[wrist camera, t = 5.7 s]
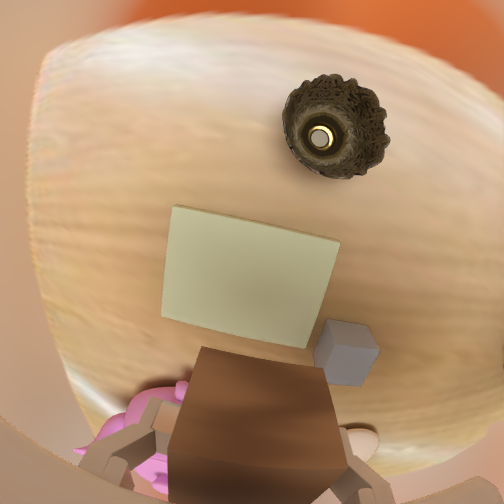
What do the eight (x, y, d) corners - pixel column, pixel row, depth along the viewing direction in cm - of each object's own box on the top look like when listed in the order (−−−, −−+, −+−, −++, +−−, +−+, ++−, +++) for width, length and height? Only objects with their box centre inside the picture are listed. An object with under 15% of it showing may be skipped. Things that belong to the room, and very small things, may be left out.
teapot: (99, 338, 32) (42, 402, 19) (258, 376, 31) (248, 471, 18) (122, 430, 38) (94, 484, 25) (238, 459, 37) (229, 524, 24)
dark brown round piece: (276, 101, 23) (278, 72, 15) (353, 102, 22) (383, 77, 14) (282, 178, 25) (286, 180, 17) (359, 177, 24) (393, 180, 16)
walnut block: (323, 368, 10) (348, 468, 6) (287, 436, 12) (292, 517, 7) (201, 346, 10) (167, 448, 5) (190, 420, 12) (168, 501, 7)
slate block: (366, 324, 28) (380, 350, 24) (351, 359, 30) (360, 386, 25) (326, 318, 28) (335, 344, 24) (312, 354, 30) (317, 382, 25)
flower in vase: (299, 457, 36) (300, 582, 12) (326, 419, 33) (344, 575, 9) (364, 458, 36) (384, 567, 12) (397, 422, 33) (437, 546, 9)
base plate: (337, 239, 26) (340, 243, 25) (304, 342, 29) (305, 348, 28) (176, 204, 26) (172, 206, 25) (164, 310, 29) (160, 316, 28)
